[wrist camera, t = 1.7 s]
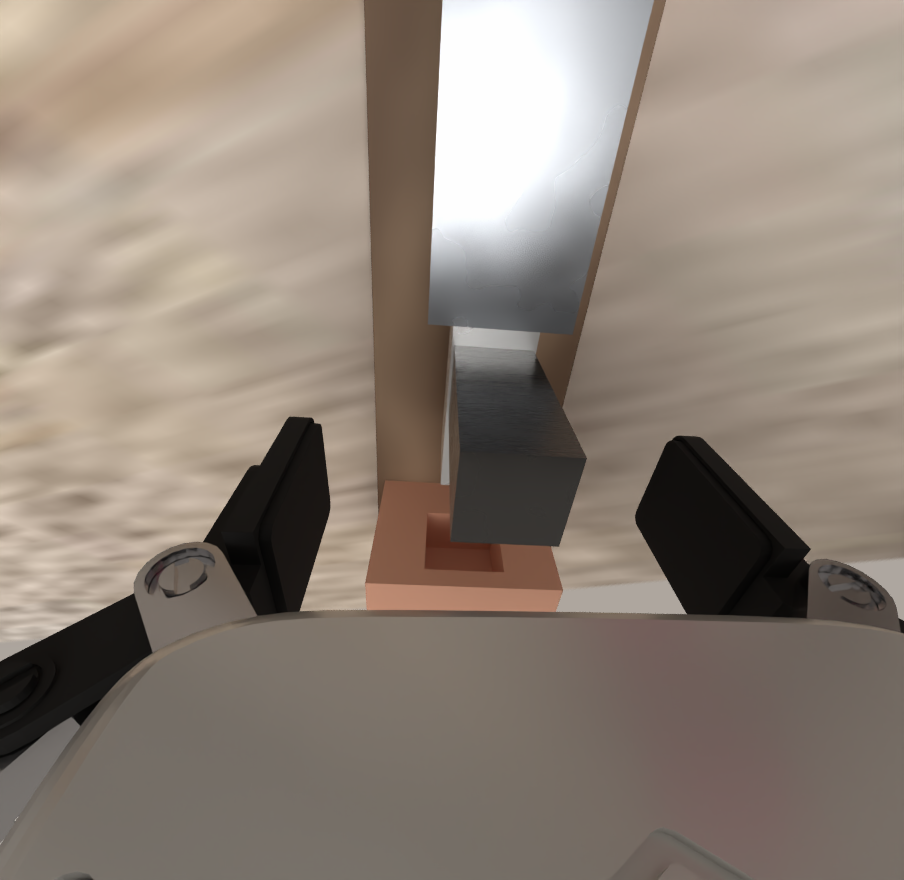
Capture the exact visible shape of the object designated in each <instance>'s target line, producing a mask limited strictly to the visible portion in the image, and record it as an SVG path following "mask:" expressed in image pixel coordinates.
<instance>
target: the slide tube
mask: <svg viewBox="0 0 904 880" xmlns="http://www.w3.org/2000/svg"><path fill="white" fill-rule="evenodd" d="M539 336H540V332H526V331H512V330H498V329H485V328H471V327H457V326H450V335H449V348H448V361H447V374H446V388H445V401H444V414H443V427H442V440H441V485H449V488H450V542H465V543H488V544H511V545H534V546H557V547H559V545H560V541H561V538H562V535H563V532H564V529H565V526H566V522H567V519H568V516H569V513H570V510H571V507H572V503H573V500H574V497H575V494H576V491H577V488H578V485H579V481H580V478H581V475H582V472H583V469H584V466H585V462H586V459H587V458H586V456H585V454H584V452H583V450H582V448H581V446H580V444H579V442H578V440H577V437H576V435H575V433H574V431H573V429H572V427H571V425H570V423H569V421H568V419H567V417H566V415H565V413H564V411H563V409H562V407H561V405H560V403H559V401H558V399H557V397H556V395H555V393H554V391H553V389H552V387H551V385H550V383H549V381H548V379H547V377H546V375H545V372H544V370H543V368H542V366H541V364H540V362H539V360H538V358H537V356H536V351H537V346H538V341H539Z"/></svg>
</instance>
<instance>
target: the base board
mask: <svg viewBox="0 0 904 880" xmlns="http://www.w3.org/2000/svg"><path fill="white" fill-rule="evenodd" d="M442 2H443V0H364V12H365V48H366V84H367V119H368V155H369V191H370V227H371V262H372V298H373V334H374V369H375V405H376V441H377V477H378V512H379V510H380V505H381V499H382V494H383V489H384V484H385V480H389V481H408V482H428V483H441V440H442V427H443V414H444V401H445V388H446V374H447V361H448V348H449V335H450V326H443V325H429V324H428V310H429V288H430V266H431V244H432V222H433V200H434V178H435V156H436V134H437V112H438V90H439V68H440V46H441V24H442ZM665 2H666V0H654V2H653V6H652V11H651V15H650V19H649V23H648V27H647V31H646V35H645V39H644V43H643V47H642V52H641V56H640V60H639V64H638V68H637V72H636V76H635V80H634V84H633V89H632V93H631V97H630V101H629V105H628V109H627V113H626V117H625V121H624V125H623V130H622V134H621V138H620V142H619V146H618V150H617V154H616V158H615V162H614V166H613V171H612V175H611V179H610V183H609V187H608V191H607V195H606V199H605V203H604V207H603V212H602V216H601V220H600V224H599V228H598V232H597V236H596V240H595V244H594V249H593V253H592V257H591V261H590V265H589V269H588V273H587V277H586V281H585V285H584V290H583V294H582V298H581V302H580V306H579V310H578V314H577V318H576V322H575V326H574V331H573V335H568V334H554V333H540V336H539V341H538V346H537V351H536V356H537V358H538V360H539V362H540V364H541V366H542V368H543V370H544V372H545V375H546V377H547V379H548V381H549V383H550V385H551V387H552V389H553V391H554V393H555V395H556V397H557V399H558V401H559V403H560V405H561V407H562V406H563V402H564V398H565V394H566V390H567V386H568V383H569V379H570V375H571V371H572V367H573V363H574V359H575V355H576V351H577V347H578V343H579V339H580V336H581V332H582V328H583V324H584V320H585V316H586V312H587V308H588V304H589V300H590V296H591V292H592V288H593V285H594V281H595V277H596V273H597V269H598V265H599V261H600V257H601V253H602V249H603V245H604V241H605V237H606V234H607V230H608V226H609V222H610V218H611V214H612V210H613V206H614V202H615V198H616V194H617V190H618V186H619V183H620V179H621V175H622V171H623V167H624V163H625V159H626V155H627V151H628V147H629V143H630V139H631V135H632V132H633V128H634V124H635V120H636V116H637V112H638V108H639V104H640V100H641V96H642V92H643V88H644V85H645V81H646V77H647V73H648V69H649V65H650V61H651V57H652V53H653V49H654V45H655V41H656V37H657V34H658V30H659V26H660V22H661V18H662V14H663V10H664V6H665Z"/></svg>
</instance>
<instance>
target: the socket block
mask: <svg viewBox="0 0 904 880" xmlns="http://www.w3.org/2000/svg"><path fill="white" fill-rule="evenodd" d="M365 587H366V604H367V610H457V611H534V612H556V609H557V606H558V603H559V600H560V598H561V595H562V592H563V589H562V585H561V581H560V578H559V574H558V571H557V567H556V564H555V560H554V557H553V553H552V549H551V546H534V545H511V544H488V543H465V542H450V488H449V485H441V483H428V482H408V481H389V480H385V484H384V489H383V494H382V499H381V505H380V510H379V515H378V520H377V525H376V530H375V536H374V541H373V546H372V551H371V556H370V561H369V567H368V572H367V577H366V582H365Z"/></svg>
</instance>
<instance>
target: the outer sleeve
mask: <svg viewBox="0 0 904 880" xmlns="http://www.w3.org/2000/svg"><path fill="white" fill-rule="evenodd" d="M653 2H654V0H443V2H442V24H441V46H440V68H439V90H438V112H437V134H436V156H435V178H434V200H433V222H432V244H431V266H430V288H429V310H428V324H429V325H443V326H457V327H471V328H485V329H498V330H512V331H526V332H540V333H554V334H568V335H573V331H574V326H575V322H576V318H577V314H578V310H579V306H580V302H581V298H582V294H583V290H584V285H585V281H586V277H587V273H588V269H589V265H590V261H591V257H592V253H593V249H594V244H595V240H596V236H597V232H598V228H599V224H600V220H601V216H602V212H603V207H604V203H605V199H606V195H607V191H608V187H609V183H610V179H611V175H612V171H613V166H614V162H615V158H616V154H617V150H618V146H619V142H620V138H621V134H622V130H623V125H624V121H625V117H626V113H627V109H628V105H629V101H630V97H631V93H632V89H633V84H634V80H635V76H636V72H637V68H638V64H639V60H640V56H641V52H642V47H643V43H644V39H645V35H646V31H647V27H648V23H649V19H650V15H651V11H652V6H653Z"/></svg>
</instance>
